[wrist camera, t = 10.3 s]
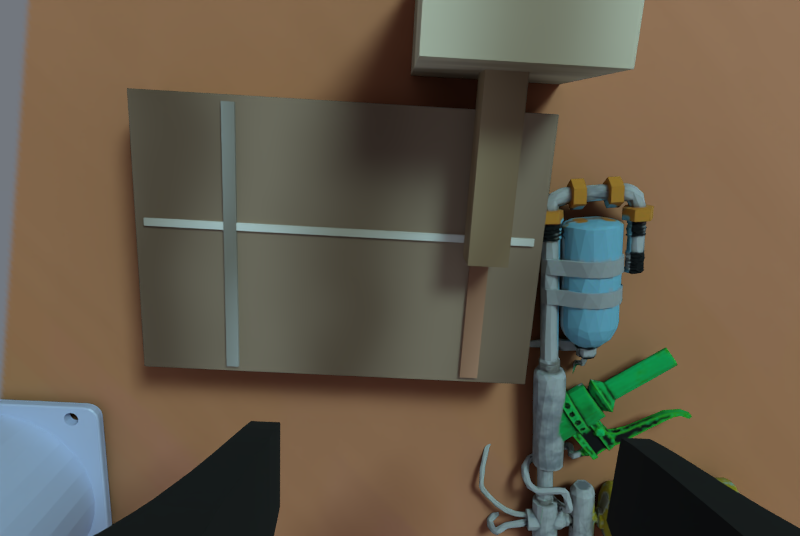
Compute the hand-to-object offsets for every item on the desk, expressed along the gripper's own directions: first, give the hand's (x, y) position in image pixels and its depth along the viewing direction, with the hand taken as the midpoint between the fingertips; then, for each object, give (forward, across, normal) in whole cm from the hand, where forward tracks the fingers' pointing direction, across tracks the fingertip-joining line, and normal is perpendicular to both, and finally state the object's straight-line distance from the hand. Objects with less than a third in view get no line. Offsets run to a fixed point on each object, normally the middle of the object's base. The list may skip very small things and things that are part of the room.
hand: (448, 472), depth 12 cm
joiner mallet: (+10, -2, -7) cm, 12 cm away
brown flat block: (+9, +3, -3) cm, 10 cm away
